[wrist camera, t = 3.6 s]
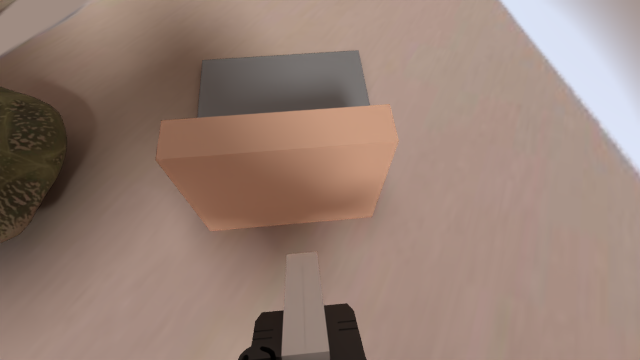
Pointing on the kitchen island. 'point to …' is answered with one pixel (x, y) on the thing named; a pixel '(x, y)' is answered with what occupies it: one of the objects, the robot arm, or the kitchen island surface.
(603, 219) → the kitchen island surface
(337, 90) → the mat
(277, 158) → the tile
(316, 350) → the robot arm
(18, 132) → the decorative rock
